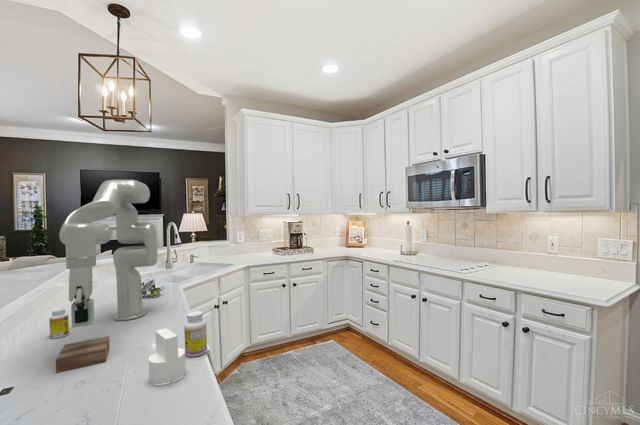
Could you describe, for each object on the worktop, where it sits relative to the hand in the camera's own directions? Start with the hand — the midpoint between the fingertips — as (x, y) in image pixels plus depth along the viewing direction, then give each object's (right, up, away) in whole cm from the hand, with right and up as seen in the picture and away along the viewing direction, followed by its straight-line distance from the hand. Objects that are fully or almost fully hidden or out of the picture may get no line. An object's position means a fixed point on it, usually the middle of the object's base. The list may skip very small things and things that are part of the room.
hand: (83, 319), depth 97 cm
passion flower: (-20, -14, +77) cm, 80 cm away
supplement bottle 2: (+35, -12, +2) cm, 37 cm away
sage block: (0, -2, 0) cm, 2 cm away
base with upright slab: (+33, -12, -12) cm, 37 cm away
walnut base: (0, -13, 0) cm, 13 cm away
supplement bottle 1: (-25, -14, +21) cm, 36 cm away
